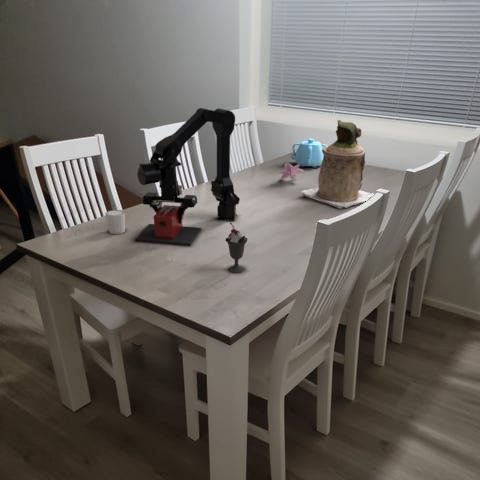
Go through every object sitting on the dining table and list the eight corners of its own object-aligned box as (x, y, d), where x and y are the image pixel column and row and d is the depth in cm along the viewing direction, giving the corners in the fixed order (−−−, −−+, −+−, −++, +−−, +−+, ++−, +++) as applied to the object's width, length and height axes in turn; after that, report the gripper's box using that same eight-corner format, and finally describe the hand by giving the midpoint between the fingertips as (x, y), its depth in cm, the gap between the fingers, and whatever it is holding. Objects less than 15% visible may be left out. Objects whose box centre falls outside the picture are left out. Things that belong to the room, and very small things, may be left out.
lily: (307, 183, 233) (303, 163, 232) (302, 179, 222) (298, 159, 221) (283, 189, 237) (280, 169, 236) (277, 186, 226) (274, 165, 225)
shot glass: (130, 229, 178) (128, 210, 174) (120, 235, 172) (118, 216, 168) (114, 226, 180) (111, 208, 176) (104, 233, 174) (101, 214, 170)
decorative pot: (305, 170, 250) (307, 143, 242) (288, 163, 262) (289, 137, 254) (329, 167, 256) (332, 140, 249) (312, 160, 268) (314, 134, 261)
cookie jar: (342, 210, 197) (352, 128, 180) (298, 196, 213) (304, 119, 196) (377, 198, 211) (390, 121, 194) (334, 186, 226) (342, 113, 209)
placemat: (201, 230, 177) (200, 227, 177) (190, 245, 165) (190, 243, 164) (149, 226, 180) (149, 223, 180) (135, 241, 168) (134, 238, 167)
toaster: (172, 240, 166) (170, 218, 162) (154, 239, 167) (152, 216, 163) (182, 227, 177) (181, 205, 173) (165, 225, 178) (164, 204, 174)
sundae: (224, 265, 152) (224, 220, 144) (245, 264, 152) (246, 219, 144) (226, 274, 146) (225, 228, 138) (247, 273, 147) (248, 227, 139)
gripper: (200, 175, 171) (201, 217, 179) (150, 172, 173) (154, 213, 182) (192, 184, 161) (194, 227, 170) (139, 180, 164) (144, 224, 172)
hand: (171, 222), depth 174 cm, fingers closed on toaster, 6 cm apart
